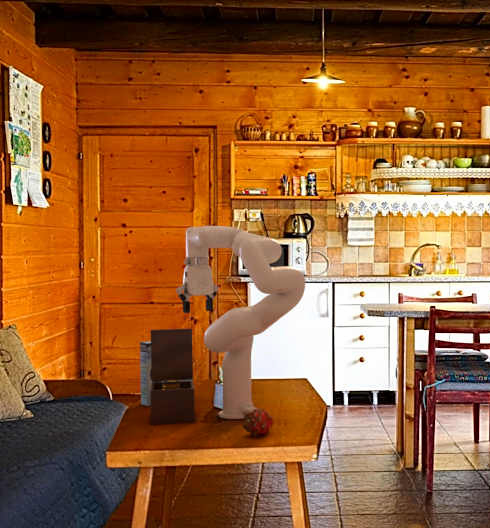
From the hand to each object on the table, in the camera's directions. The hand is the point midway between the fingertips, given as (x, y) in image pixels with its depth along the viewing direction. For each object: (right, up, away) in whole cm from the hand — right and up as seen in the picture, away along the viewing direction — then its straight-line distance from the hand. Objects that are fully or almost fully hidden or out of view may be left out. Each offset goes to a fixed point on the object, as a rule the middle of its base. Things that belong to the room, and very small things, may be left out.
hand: (198, 311), depth 293 cm
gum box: (-15, -34, +17) cm, 41 cm away
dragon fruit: (+25, -35, -38) cm, 58 cm away
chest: (-6, -35, -12) cm, 37 cm away
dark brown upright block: (-8, -14, -5) cm, 17 cm away
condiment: (-5, -34, -15) cm, 37 cm away
